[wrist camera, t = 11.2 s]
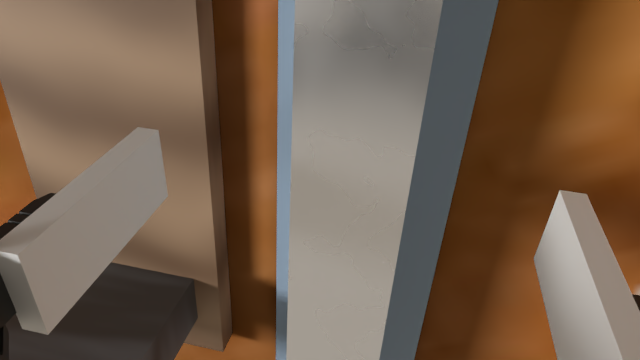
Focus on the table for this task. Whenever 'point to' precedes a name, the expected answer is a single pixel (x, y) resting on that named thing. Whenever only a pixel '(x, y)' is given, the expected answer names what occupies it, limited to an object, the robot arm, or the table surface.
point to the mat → (428, 172)
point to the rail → (352, 166)
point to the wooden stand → (102, 135)
